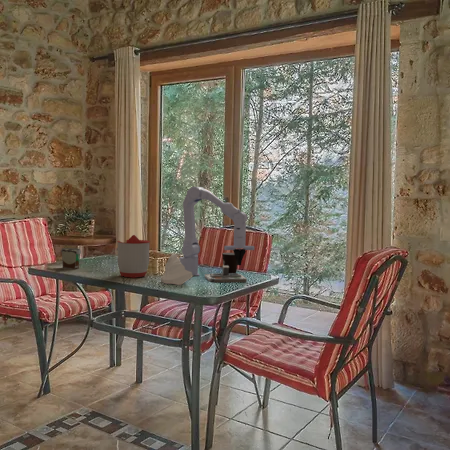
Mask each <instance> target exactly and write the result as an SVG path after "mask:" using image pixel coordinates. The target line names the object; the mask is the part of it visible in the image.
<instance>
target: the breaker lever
mask: <svg viewBox="0 0 450 450" xmlns="http://www.w3.org/2000/svg"><path fill="white" fill-rule="evenodd" d="M221 273H222V274H221V275H230V274H229V266H223V265H222V271H221Z"/></svg>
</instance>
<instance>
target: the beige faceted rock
mask: <svg viewBox="0 0 450 450" xmlns="http://www.w3.org/2000/svg"><path fill="white" fill-rule="evenodd" d="M164 265H165V272H164V274H163V275H162V276H161V277H160V281H161V282H162V283H163V284H168V285H169V284H170V285H177V286H182V285H183V284H184V283H186V282H187V281H189V280H190V279H191V278H192V277H193V275H192V272H189V271H187V270H185V267H184V266H183V265H182V264H181V262H180V260H179V258H178V254H176V253H173V252H172V253H171V254H170V256H169V257H168V259H167V261H166V263H165V264H164Z"/></svg>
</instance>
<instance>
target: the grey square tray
mask: <svg viewBox="0 0 450 450" xmlns="http://www.w3.org/2000/svg"><path fill="white" fill-rule="evenodd" d="M208 274H209V273H205V274H204V276H205V275H208ZM211 282H212V283H247V281H246V279H212V281H211Z"/></svg>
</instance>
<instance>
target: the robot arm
mask: <svg viewBox="0 0 450 450" xmlns="http://www.w3.org/2000/svg"><path fill="white" fill-rule="evenodd" d="M202 200H208V201H209V202H210V203H212V204H213V205H215V206H217V207H218V208H220V212H221V213H222V214H224V215H225V216H227V217H228V218H229V219H231V220H232V222H233V225H234V227H233V245H224V248H223V249H224V251H232V253H234V254H235V257H236V260H237V266H241V265H242V261H243V258H244V256H245V254H246V252H247V251H255V246H254V245H246V242H247V241H246V237H247V235H246V234H247V227H246V226H247V221H248V214H246V213H245V211H241V209H240V208H237V207H235V206H234V204H233V203H232V202H224V201H223V200H222V199H220V198H219V197H218V196H217V195H215V194H214V193H212V192H211V191H210V190H208V189H206V188H205V187H203V186H191V187H190V188H188V190H187V191H186V195H185V197H184V199H183V201H182V209H183V223H184V226H183V227H184V239H183V244H182V248H181V253H182V254H183V256H180V257H179V258H178V259H179V260H180V262H181V264H182V265H183V266H184V267H185V270H187V271H189V272H192V275H193V276H194V277H195V276H196V277H197V276H200V273H199V269H198V268H199V253H201V246H200V244H199V241H198V239H197V237H196V235H197V233H196V220H195V219H196V218H195V206H196V204H197V203H198V202H199V201H202Z"/></svg>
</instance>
